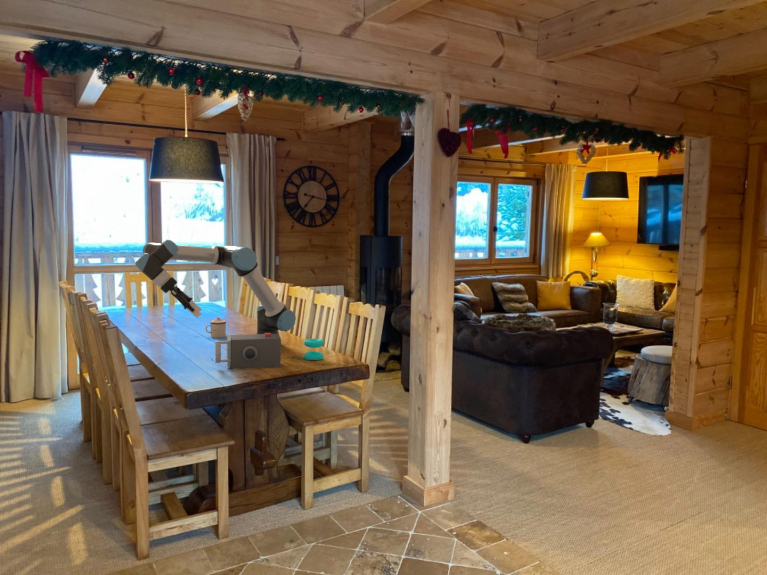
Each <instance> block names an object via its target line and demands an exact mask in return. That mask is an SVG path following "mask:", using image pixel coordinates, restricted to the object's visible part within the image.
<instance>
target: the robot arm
mask: <svg viewBox="0 0 767 575" xmlns="http://www.w3.org/2000/svg"><path fill="white" fill-rule="evenodd" d="M142 254H143V255H141V256H140V257H139V258H138V259H137V260H136V261H135V264H134V265H135V267H137V269H139V271H140V272H141V273H142V274H144V275H145V276H146V277H147V278H149V280H150V281H152V282H153V283H152V284H153V285H156V286H157V287H159V288H160V290H161V291H162V292H163V293H165V294H167V293H169V292H170V295H172V297H174V298H175V299H176V300H177V301H178V302H179V303H180V304H181V305H182V306H183V309H184V310H187V311H188V312H190V313H191V314H192V315H193V316H194V317H195V318H196V319H197V318H199V317H200V316H201V315H202V313H201V311H202V308H201V307H200V306H199V305H198V304H197V303H196V302H194V300H193V297H191V296H189V295H188V294H186V293H185V292H183V290H182V289H181V288H180V287H178V286H177V284H178V280H177V279H175V278H174V277H172V276H171V274H170V273H169V272H168V271H167V270H166V269H165V268H163V266H164V265H165V264H167V263H168V262H169V261H173V260H174V261H186V262H187V261H188V262H200V263H210V264H211V265H215V266H216V265H218V266H222V267H225V268H229V269H232V270H234V271H235V273H236V275H237V276H238V277H240V278H243V279H244V281H245V282H246V284H247V285H248V286H249V288H250V290H251V291H252V292H253V294H254V295H255V297H256V298H257V300H258V301H259V302H260V304H259V305H257V308H256V309H257V310H256V315H257V316H256V321H257V322H256V325H257V326H256V333H255V334H264V333H271V334H279V336H280V333H279V331H280V332H288V331H290V330H291V329H293V327H294V326H295V324H296V320H297V316H296V314H295V312H294V311H293V310H291V309H289V308H288V307H287V306H286V304H285V303H284V301H279V299H278V298H277V296H276V294H275V293H274V292H273V289H272V288H271V287H270V285H269V284H268V282H267V281H266V279H265V277H264V275H262V274H261V272H260V270H259V269H258V266H259V264H258V262H257V260H258V258H257V254H256V253H255V251H254V250H253V249H252V248H249V247H247V246H239V245H218V246H217V245H212V246H211V247H209V246H208V247H207V246H195V245H194V246H193V245H182V244H176V243H175V242H174V241H173V240H171V239H165V240H164V241H163V242H162V243H158V242H148V243H147V242H146V243H145V244H144V246H143V248H142ZM280 337H281V336H280Z"/></svg>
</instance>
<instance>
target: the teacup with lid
mask: <svg viewBox="0 0 767 575" xmlns="http://www.w3.org/2000/svg"><path fill="white" fill-rule="evenodd" d="M208 327H210V331H208ZM226 328H227V321H226V320H225V319H222V318H221V317H220V316H216V318H215V319H213V320H211V321H210V324H207V325H206V326H205V331H206V333H208V334H210V337H211V338H215V339H217V338H224V337H227V335H226V334H227V329H226Z"/></svg>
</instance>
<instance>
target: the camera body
mask: <svg viewBox="0 0 767 575" xmlns="http://www.w3.org/2000/svg"><path fill="white" fill-rule="evenodd" d="M279 335H280V333H279V334H271V333H264V334H256V333H255V334H253V333H252V334H251V333H249V334H230V357H231V368H230V369H232V370H234V369H235V370H238V369H239V370H241V369H242V370H243V369H260V368H261V369H262V368H264V369H265V368H269V369H270V368H281V364H282V363H281V353H282V352H281V349H282V348H281V346H282V340H281V339H282V338H281V336H279Z"/></svg>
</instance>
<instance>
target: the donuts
mask: <svg viewBox="0 0 767 575" xmlns="http://www.w3.org/2000/svg"><path fill="white" fill-rule="evenodd" d="M303 344H304V346H305V347H307V348H311V349H318V348H321V347H322V346H323V345H324V344H325V343H324V340H323V339H320V338H308V339H305V340H304V341H303ZM303 358H304V360H306V361H309V360H318V361H321V360H322V359H324V354H323V353H322V352H321V351H316V350H310V351H307V352H305V353H304V355H303Z"/></svg>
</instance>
